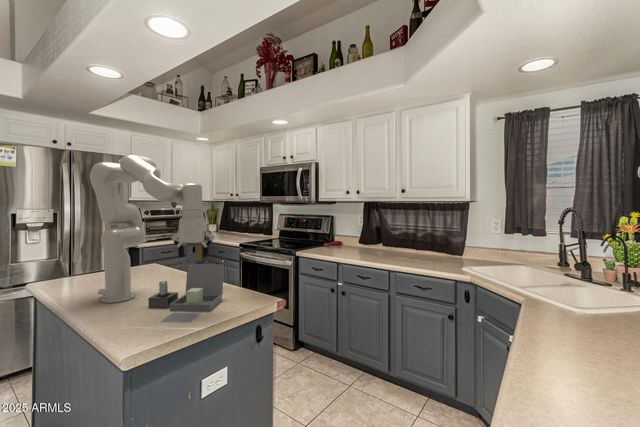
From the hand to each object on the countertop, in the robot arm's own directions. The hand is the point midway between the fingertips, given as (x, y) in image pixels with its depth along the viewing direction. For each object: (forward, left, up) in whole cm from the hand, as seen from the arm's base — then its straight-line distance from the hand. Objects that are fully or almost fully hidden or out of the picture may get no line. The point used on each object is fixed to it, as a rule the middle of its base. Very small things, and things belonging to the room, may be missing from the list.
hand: (193, 256), depth 123 cm
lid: (0, +10, -12) cm, 15 cm away
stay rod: (-14, +2, -21) cm, 25 cm away
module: (0, 0, -21) cm, 21 cm away
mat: (0, -11, -21) cm, 24 cm away
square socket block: (-14, +2, -21) cm, 25 cm away
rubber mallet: (-9, +24, -21) cm, 33 cm away
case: (0, +2, -21) cm, 21 cm away
